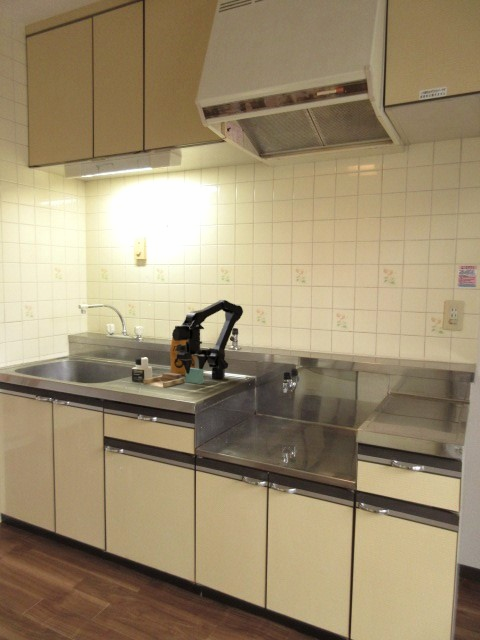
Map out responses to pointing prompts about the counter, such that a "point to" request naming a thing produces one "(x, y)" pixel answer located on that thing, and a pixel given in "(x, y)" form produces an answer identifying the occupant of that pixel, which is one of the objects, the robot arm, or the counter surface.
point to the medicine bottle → (141, 370)
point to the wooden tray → (162, 382)
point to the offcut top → (171, 375)
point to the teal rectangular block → (195, 376)
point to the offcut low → (167, 379)
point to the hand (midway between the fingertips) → (194, 372)
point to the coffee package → (177, 365)
